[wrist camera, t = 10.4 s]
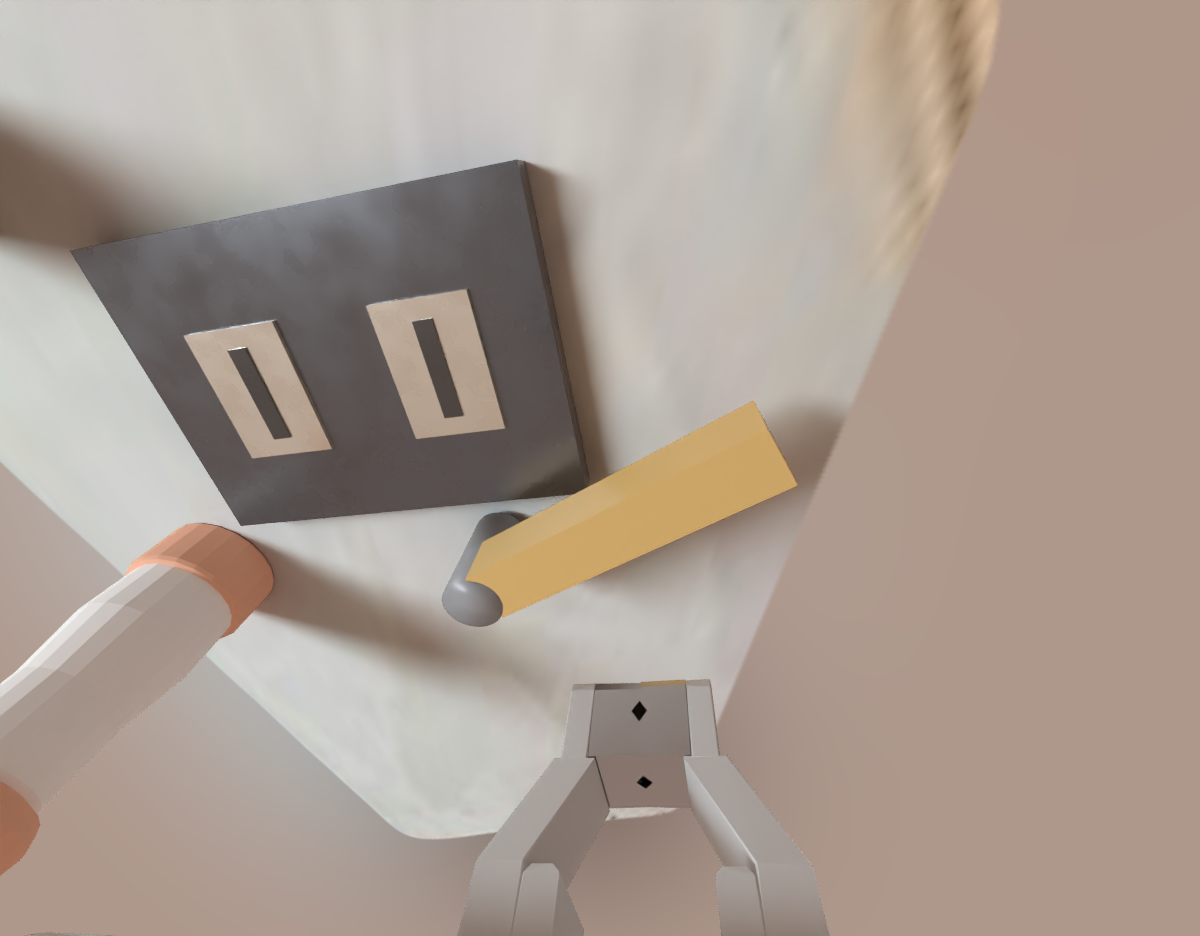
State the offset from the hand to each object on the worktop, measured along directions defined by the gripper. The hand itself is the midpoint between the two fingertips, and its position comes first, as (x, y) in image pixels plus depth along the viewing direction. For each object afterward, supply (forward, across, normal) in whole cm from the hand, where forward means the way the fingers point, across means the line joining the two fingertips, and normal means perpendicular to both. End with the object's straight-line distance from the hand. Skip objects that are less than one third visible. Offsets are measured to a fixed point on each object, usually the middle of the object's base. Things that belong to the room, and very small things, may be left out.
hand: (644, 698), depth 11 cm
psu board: (+18, +15, -3) cm, 23 cm away
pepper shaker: (+18, +31, +9) cm, 37 cm away
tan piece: (+17, +3, +5) cm, 18 cm away
